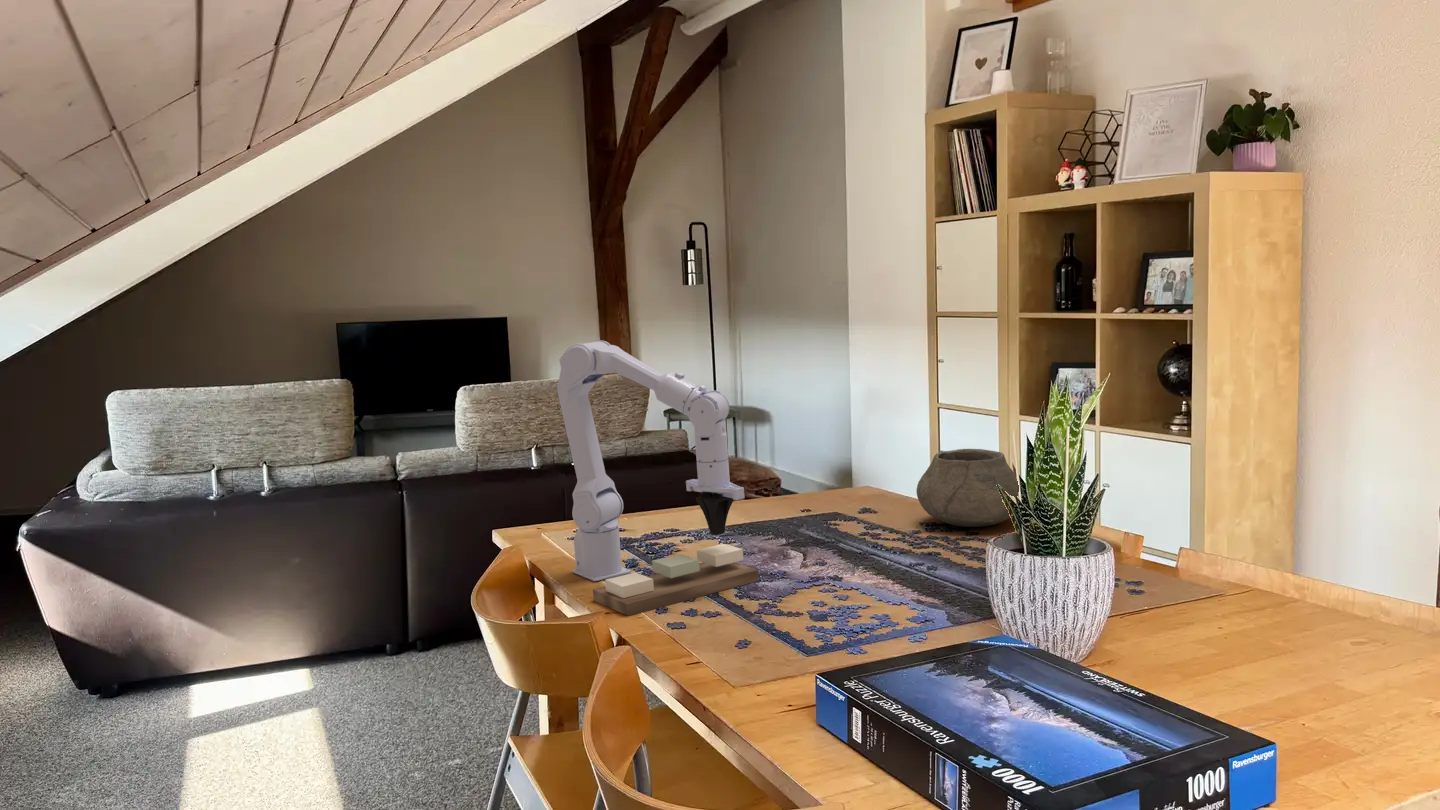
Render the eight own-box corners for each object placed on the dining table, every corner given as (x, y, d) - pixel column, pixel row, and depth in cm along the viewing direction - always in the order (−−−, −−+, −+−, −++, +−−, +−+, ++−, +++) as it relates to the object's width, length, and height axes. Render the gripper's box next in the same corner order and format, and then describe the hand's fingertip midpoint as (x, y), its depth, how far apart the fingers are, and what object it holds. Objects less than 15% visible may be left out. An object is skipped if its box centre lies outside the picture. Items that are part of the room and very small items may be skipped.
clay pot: (1022, 512, 226) (1019, 443, 224) (1028, 536, 205) (1025, 461, 203) (920, 513, 231) (917, 446, 229) (915, 537, 210) (912, 464, 208)
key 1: (606, 591, 179) (605, 579, 179) (636, 583, 182) (635, 572, 182) (623, 598, 174) (622, 586, 174) (654, 590, 178) (653, 579, 177)
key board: (593, 600, 181) (592, 589, 181) (720, 568, 196) (720, 558, 196) (628, 616, 171) (627, 604, 171) (759, 580, 187) (758, 569, 186)
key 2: (697, 560, 190) (696, 550, 189) (724, 554, 193) (723, 543, 193) (716, 566, 185) (715, 555, 184) (743, 559, 188) (742, 549, 188)
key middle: (652, 571, 184) (651, 560, 184) (681, 564, 188) (680, 553, 187) (670, 578, 179) (669, 566, 179) (699, 570, 183) (698, 559, 183)
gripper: (670, 459, 190) (676, 532, 191) (720, 467, 178) (725, 544, 180) (701, 453, 194) (706, 525, 196) (751, 460, 183) (756, 536, 184)
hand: (717, 534), depth 188 cm, fingers closed
